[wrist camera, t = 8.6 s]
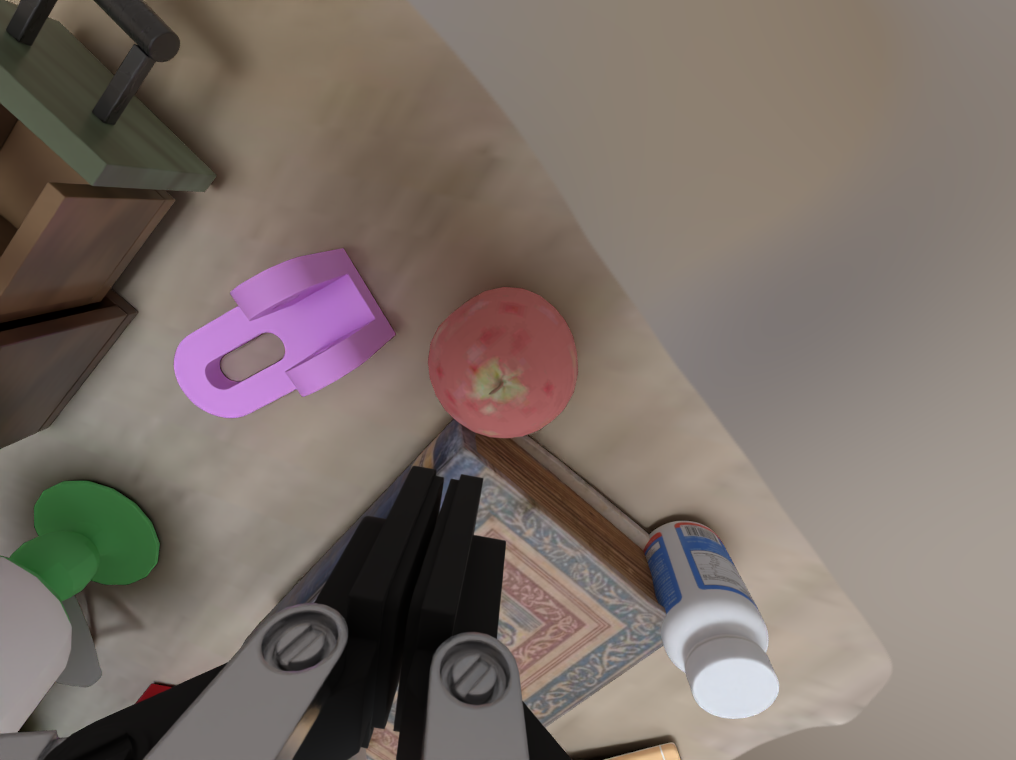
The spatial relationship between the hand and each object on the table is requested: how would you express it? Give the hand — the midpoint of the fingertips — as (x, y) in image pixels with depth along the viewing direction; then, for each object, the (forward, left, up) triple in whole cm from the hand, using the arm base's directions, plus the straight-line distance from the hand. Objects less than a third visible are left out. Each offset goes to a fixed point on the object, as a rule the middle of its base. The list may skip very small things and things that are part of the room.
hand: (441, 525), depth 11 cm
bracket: (+3, -13, -18) cm, 22 cm away
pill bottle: (+12, +14, -17) cm, 26 cm away
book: (+18, 0, -18) cm, 25 cm away
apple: (0, +1, -18) cm, 18 cm away
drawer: (-7, -21, -17) cm, 28 cm away
